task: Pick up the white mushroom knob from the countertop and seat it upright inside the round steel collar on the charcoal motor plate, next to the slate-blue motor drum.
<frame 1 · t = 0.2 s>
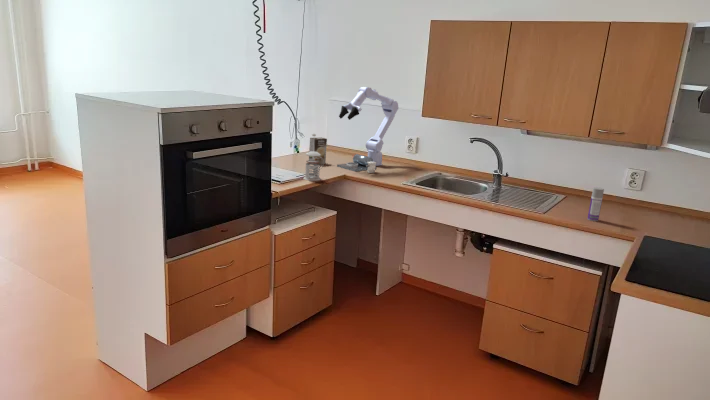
hand: (344, 117, 312), 31 cm above the worktop, tool tilted 45°, fingers open, 7 cm apart
motor mount: (356, 167, 327), on the worktop
french press: (313, 178, 289), on the worktop
white mushroom knob: (371, 172, 316), on the worktop
container: (592, 220, 242), on the worktop
coffee box: (317, 163, 333), on the worktop
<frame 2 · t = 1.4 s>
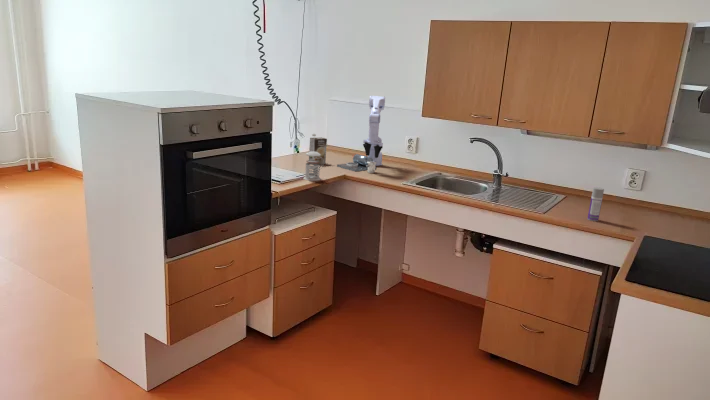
hand: (371, 156, 314), 10 cm above the worktop, tool pointing down, fingers open, 7 cm apart
nothing on the worktop moved.
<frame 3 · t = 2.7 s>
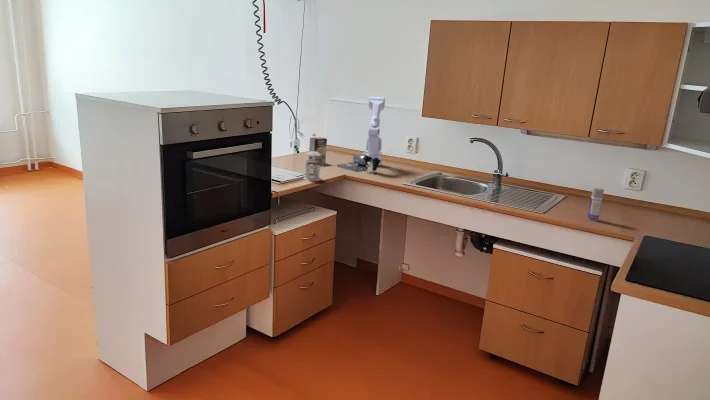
hand: (371, 169, 316), 2 cm above the worktop, tool pointing down, fingers closed on white mushroom knob, 5 cm apart
white mushroom knob: (371, 172, 316), on the worktop, touching gripper
everything else where it was.
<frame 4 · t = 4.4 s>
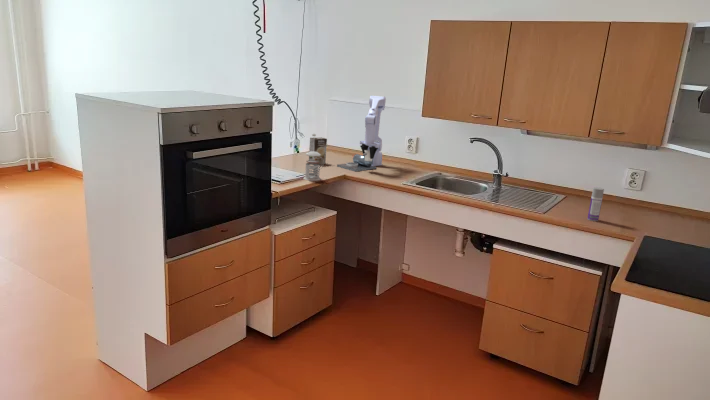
hand: (368, 157, 316), 8 cm above the worktop, tool pointing down, fingers closed on white mushroom knob, 5 cm apart
white mushroom knob: (368, 160, 317), point 7 cm above the worktop, touching gripper
everything else where it was.
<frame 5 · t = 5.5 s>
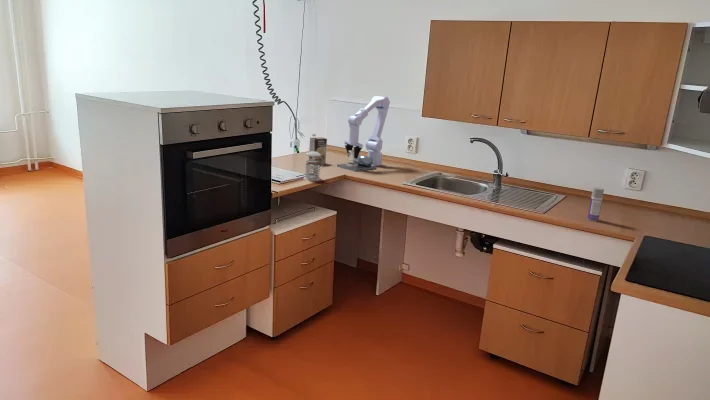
hand: (352, 157, 324), 7 cm above the worktop, tool pointing down, fingers closed on white mushroom knob, 5 cm apart
white mushroom knob: (352, 160, 324), point 5 cm above the worktop, touching gripper
everything else where it was.
when the fingers open (4 cm above the worktop, at t = 6.4 s): white mushroom knob drops 1 cm, resting on motor mount.
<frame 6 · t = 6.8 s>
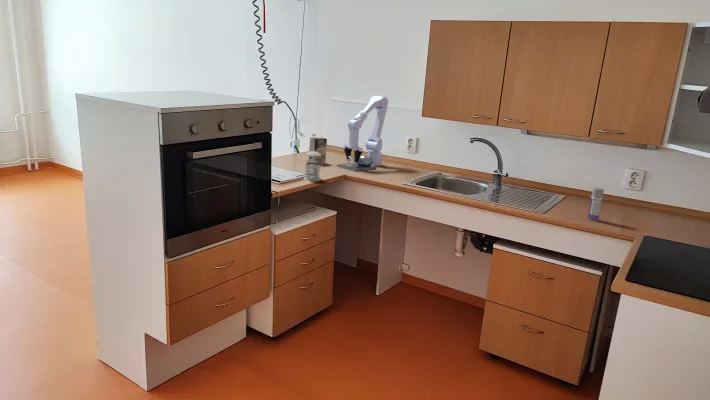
hand: (352, 161, 325), 4 cm above the worktop, tool pointing down, fingers open, 7 cm apart
white mushroom knob: (352, 165, 325), point 1 cm above the worktop, touching motor mount
everything else where it was.
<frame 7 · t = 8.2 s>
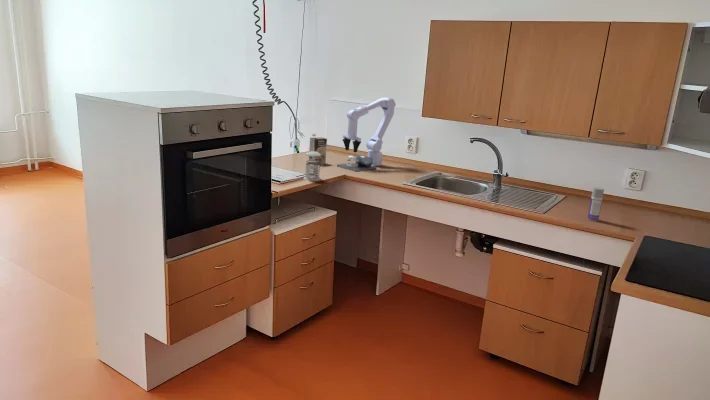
hand: (351, 151, 329), 9 cm above the worktop, tool pointing down, fingers open, 7 cm apart
nothing on the worktop moved.
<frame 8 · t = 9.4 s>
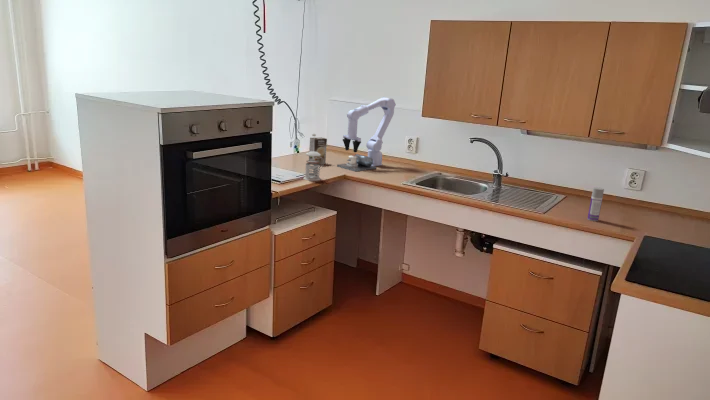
hand: (351, 151, 329), 9 cm above the worktop, tool pointing down, fingers open, 7 cm apart
nothing on the worktop moved.
at the end: white mushroom knob 0.3 cm from the target spot on the motor mount, point 1.2 cm above the motor mount's base; white mushroom knob tilted 0°; the gripper is holding nothing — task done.
